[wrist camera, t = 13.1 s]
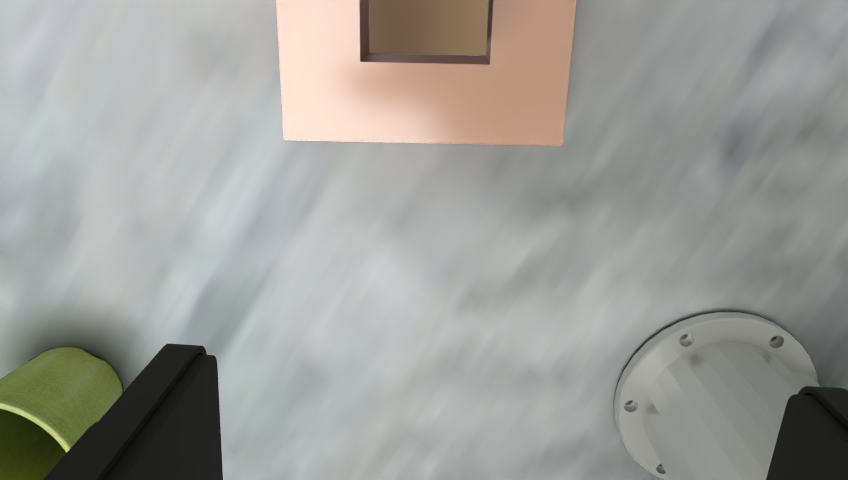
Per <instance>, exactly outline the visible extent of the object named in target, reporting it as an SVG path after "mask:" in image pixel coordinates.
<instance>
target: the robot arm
mask: <svg viewBox="0 0 848 480" xmlns="http://www.w3.org/2000/svg"><path fill="white" fill-rule="evenodd" d="M614 418H615V422H616V426H617V429H618V433H619V435H620V437H621V439H622V441H623V443H624V446H625V448H626V449H627V450H628V452H629V453H630V455H631V456H632V458H633V459H634V460H635V461H636V462H637V463H638V464H639V465H640V466H642V467H643V468H644V469H645V470H646V471H648V472H650V473H651V474H653V475H654V476H656V477H658V478H661V479H663V480H848V391H847V390H845V389H841V388H828V387H821V386H820V385H819V384H818V381H817V373H816V370H815V368H814V365H813V362H812V360H811V358H810V356H809V355H808V353H807V352H806V351H805V349H804V348H803V346H802V345H801V344H800V343H799V342H798V341H797V340H796V339H795V338H794V337H793V336H792V335H790V334H789V333H788V332H787V331H785V330H784V329H783V328H781V327H780V326H778V325H777V324H775V323H774V322H771V321H769V320H766V319H764V318H761V317H759V316H755V315H750V314H745V313H740V312H717V313H710V314H703V315H699V316H695V317H692V318H689V319H686V320H683V321H680V322H678V323H676V324H674V325H672V326H670V327H668V328H666V329H665V330H663V331H661V332H660V333H659V334H657V335H656V336H654V337H653V338H652V339H650V340H649V341H648V342H647V343H646V344H645V345H644V346H643V347H642V348H641V349H640V350H639V351H638V352H637V353H636V354H635V355H634V356H633V358H632V359H631V361H630V362H629V364H628V365H627V366H626V368H625V369H624V371H623V374H622V376H621V378H620V381H619V383H618V385H617V389H616V394H615V399H614ZM43 480H223V474H222V453H221V433H220V412H219V392H218V371H217V360H216V357H215V356H214V355H207V354H206V350H205V348H204V347H203V346H196V345H181V344H166V345H165V346H164V347H163V348H162V349H161V350H160V351H159V352H158V354H157V355H156V356H155V357H154V358H153V359H152V360H151V362H150V363H149V364H148V365H147V366H146V367H145V368H144V370H143V371H142V372H141V373H140V374H139V375H138V376H137V378H136V379H135V380H134V381H133V382H132V383H131V384H130V386H129V387H128V388H127V389H126V390H125V391H124V392H123V394H122V395H121V396H120V397H119V398H118V399H117V400H116V402H115V403H114V404H113V405H112V406H111V407H110V408H109V410H108V411H107V412H106V413H105V414H104V415H103V416H102V418H101V419H100V420H99V421H98V422H95V423H94V424H93V425H91V426H90V427H89V428H88V429H87V430H86V431H85V433H84V434H83V435H82V436H81V437H80V438H79V439H78V440H77V442H76V443H75V444H74V445H73V446H72V447H71V448H70V450H69V451H68V452H67V453H66V454H65V455H64V456H63V457H62V459H61V460H60V461H59V462H58V463H57V464H56V465H55V466H54V468H53V469H52V470H51V471H50V472H49V473H48V474H47V476H46V477H45V478H44V479H43Z"/></svg>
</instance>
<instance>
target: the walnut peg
mask: <svg viewBox="0 0 848 480" xmlns="http://www.w3.org/2000/svg"><path fill="white" fill-rule="evenodd" d="M488 4H489V0H369V53H391V54H441V55H486V44H487V24H488Z"/></svg>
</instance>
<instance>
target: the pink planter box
mask: <svg viewBox="0 0 848 480" xmlns="http://www.w3.org/2000/svg"><path fill="white" fill-rule="evenodd" d="M576 1H577V0H489V4H488V24H487V44H486V55H441V54H391V53H369V0H276V6H277V24H278V43H279V61H280V80H281V99H282V117H283V136H284V140H302V141H350V142H398V143H446V144H494V145H543V146H563V135H564V125H565V115H566V104H567V94H568V84H569V73H570V63H571V53H572V42H573V32H574V21H575V11H576Z"/></svg>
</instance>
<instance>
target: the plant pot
mask: <svg viewBox="0 0 848 480" xmlns="http://www.w3.org/2000/svg"><path fill="white" fill-rule="evenodd" d="M122 394H123V392H122V386H121V382H120V380H119V378H118V376H117V374H116V373H115V371H114V370H113V369H112V367H111V366H110V365H109V364H108V363H107V362H105V361H104V360H101V359H98V358H96V357H94V356H92V355H90V354H88V353H87V352H85V351H84V350H83V349H80V348H74V347H59V348H54V349H50V350H48V351H45V352H43V353H42V354H40V355H38V356H37V357H35V358H33V359H32V360H30V361H29V362H27V363H25V364H24V365H22V366H21V367H19V368H18V369H16V370H15V371H13V372H11V373H10V374H8V375H7V376H5V377H3V378H2V379H0V480H43V479H44V478H45V477H46V476H47V474H48V473H49V472H50V471H51V470H52V469H53V468H54V466H55V465H56V464H57V463H58V462H59V461H60V460H61V459H62V457H63V456H64V455H65V454H66V453H67V452H68V451H69V450H70V448H71V447H72V446H73V445H74V444H75V443H76V442H77V440H78V439H79V438H80V437H81V436H82V435H83V434H84V433H85V431H86V430H87V429H88V428H89V427H90V426H91V425H93V424H94V423H95V422H98V421H99V420H100V419H101V418H102V416H103V415H104V414H105V413H106V412H107V411H108V410H109V408H110V407H111V406H112V405H113V404H114V403H115V402H116V400H117V399H118V398H119V397H120V396H121V395H122Z"/></svg>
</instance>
